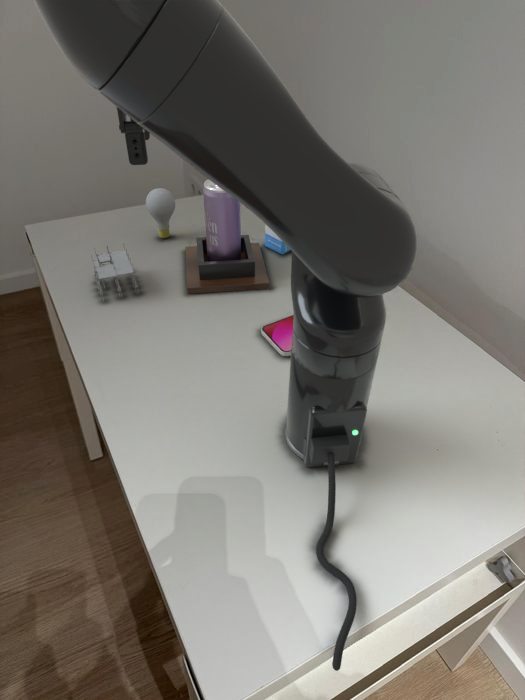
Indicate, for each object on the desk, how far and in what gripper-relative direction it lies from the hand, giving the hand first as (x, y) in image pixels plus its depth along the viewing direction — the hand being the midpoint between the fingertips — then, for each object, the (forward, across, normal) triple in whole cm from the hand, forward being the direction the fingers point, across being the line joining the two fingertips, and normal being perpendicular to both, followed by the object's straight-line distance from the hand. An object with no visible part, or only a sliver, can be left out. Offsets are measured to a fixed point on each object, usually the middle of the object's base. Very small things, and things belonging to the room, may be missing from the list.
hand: (140, 151), depth 66 cm
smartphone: (+26, +7, +23) cm, 35 cm away
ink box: (+26, -20, +24) cm, 41 cm away
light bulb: (+26, -25, 0) cm, 36 cm away
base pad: (+26, -12, +11) cm, 31 cm away
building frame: (+26, -9, -8) cm, 29 cm away
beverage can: (+25, -12, +11) cm, 30 cm away
